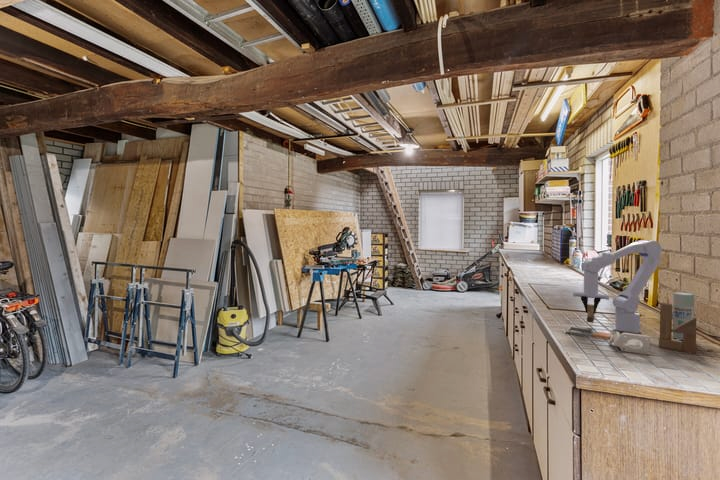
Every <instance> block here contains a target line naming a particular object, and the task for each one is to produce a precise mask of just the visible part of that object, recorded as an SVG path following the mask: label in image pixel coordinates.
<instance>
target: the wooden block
mask: <svg viewBox="0 0 720 480" xmlns="http://www.w3.org/2000/svg"><path fill="white" fill-rule="evenodd" d="M659 308H660V309H659V313H660V314H659V337H658V347H659V348H662V349H663V348H664V349H668V350H674V351H679V352H685V353H689V352H691V353H690V354H696V352H697V349H696V347H697V315H695V316H693V318H691V319H689V320H687V321H686V322H684V323H682V324H680V325H679V326H677V327H675V328H673V303H668V302H661V303H660V307H659ZM673 332H676V333H683V341H681V340H677V339H674V338H673Z"/></svg>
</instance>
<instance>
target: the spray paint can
mask: <svg viewBox="0 0 720 480" xmlns="http://www.w3.org/2000/svg"><path fill="white" fill-rule="evenodd" d="M672 299H673V300H672V301H673V303H672V329H673V328H675V327H677V326H679V325H680V324H682V323H684V322H686V321H687V320H689V319H691V318H693V317H694V309H695V306H694V305H695V295H694V293H690V292H679V291H678V292H673V298H672ZM673 337H674V338H676V339H679V340H680V341H681V340H683V333H676V332H672V338H673ZM674 338H673V339H674Z"/></svg>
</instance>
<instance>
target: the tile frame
mask: <svg viewBox="0 0 720 480" xmlns="http://www.w3.org/2000/svg"><path fill="white" fill-rule="evenodd" d="M571 330H576V331H580V332H576V331H571ZM582 332H587V333H582ZM588 333H589V334H588ZM590 333H592V329H589V328H584V327H578V326H572V325H568V327H567V329H566V330H565V334H566V335H573V336H580V337H584V338H590Z"/></svg>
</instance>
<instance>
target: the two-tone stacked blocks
mask: <svg viewBox="0 0 720 480" xmlns="http://www.w3.org/2000/svg"><path fill="white" fill-rule="evenodd" d="M586 315H587V316H586V322H587V323H594V321H595V314H594V303H593V304H592V303H591V304H590V303H588V305H587V314H586Z"/></svg>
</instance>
